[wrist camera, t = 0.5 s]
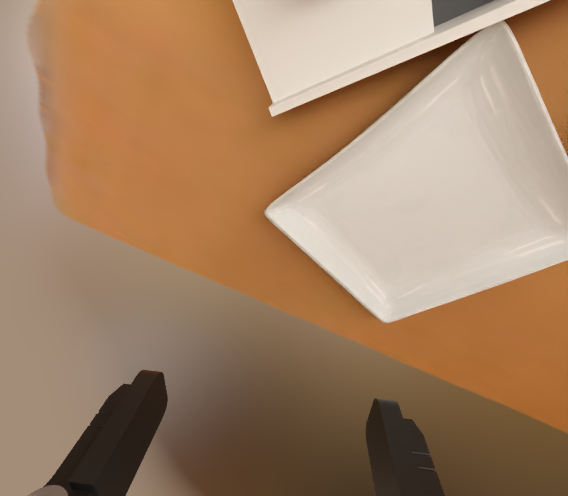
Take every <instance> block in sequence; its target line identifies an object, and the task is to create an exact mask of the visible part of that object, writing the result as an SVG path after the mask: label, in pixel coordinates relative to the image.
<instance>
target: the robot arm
mask: <svg viewBox="0 0 568 496" xmlns="http://www.w3.org/2000/svg"><path fill="white" fill-rule="evenodd" d="M167 401H168V397H167V391H166V386H165V380H164V375H163V373H162V372H156V371H148V370H142V371H140V372H139V374H138V375H137V376H136V378H135V379H134V381H133V382H132V384H131V385H129V384H123V385H122V386H120V387H119V388H118V389H117V390H116V391H115V392H113V393H112V394H111V395H110V396H109V397H108V399H107V400H106V401H105V403H104V404H103V406H102V407H101V408H100V410H99V413H98V414H96V416H95V417H94V419H93V420H92V422H91V423H90V426H88V427H87V429H86V430H85V431H84V433H83V434H82V436H81V437H80V439H79V440H78V441H77V443H76V444H75V446H74V447H73V449H72V450H71V452H70V453H69V454H68V456H67V457H66V459H65V460H64V461H63V463H62V464H61V466H60V467H59V469H58V470H57V471H56V473H55V474H54V476H53V477H52V478H51V479H50V480H49V482H48V483H47V484H46V485H45V486H44V487H42V488H40V489H38V490H36V491H34V492H33V493H31V494H30V495H28V496H126V493H127V491H128V489H129V487H130V485H131V483H132V481H133V479H134V477H135V474H136V472H137V470H138V468H139V466H140V464H141V462H142V460H143V458H144V455H145V454H146V452H147V449H148V447H149V445H150V443H151V441H152V439H153V437H154V435H155V433H156V431H157V428H158V426H159V424H160V422H161V420H162V418H163V416H164V413H165V410H166V407H167ZM366 442H367V448H368V454H369V460H370V465H371V471H372V477H373V483H374V489H375V494H376V496H445V495H444V492H443V490H442V487H441V484H440V481H439V478H438V475H437V473H436V472H435V467H434V465H433V461H432V459H431V457H430V455H429V454H430V453H429V450H428V447H427V444H426V441H425V438H424V435H423V434H422V433H421V431H420V430H419V428H418V427H417V426H416V424H415V423H414V421H413V420H411V419H403V417H402V414H401V411H400V407H399V405H398V403H397V402H396V401H393V400H386V399H377V398H376V399H374V401H373V405H372V407H371V410H370V413H369V417H368V420H367V423H366Z"/></svg>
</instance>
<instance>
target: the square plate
mask: <svg viewBox="0 0 568 496" xmlns="http://www.w3.org/2000/svg"><path fill="white" fill-rule="evenodd" d="M265 215H266V217H267V218H268V219H269V220H270V221H271V222H272V223H273V224H274V225H275V226H276V227H277V228H278V229H280V230H281V231H282V232H283V233H284V234H285V235H286V236H287V237H288V238H289V239H291V240H292V241H293V242H294V243H295V244H296V245H297V246H298V247H299V248H301V249H302V250H303V251H304V252H305V253H306V254H307V255H308V256H309V257H311V258H312V259H313V260H314V261H315V262H316V263H317V264H318V265H320V266H321V267H322V268H323V269H324V270H325V271H326V272H327V273H328V274H329V275H331V276H332V277H333V278H334V279H335V280H336V281H337V282H338V283H339V284H340V285H341V286H343V287H344V288H345V289H346V290H347V291H348V292H349V293H350V294H351V295H352V296H353V297H354V298H355V299H357V300H358V301H359V302H360V303H361V304H362V305H363V306H364V307H365V308H366V309H367V310H369V311H370V312H371V313H372V314H373V315H374V316H375V317H377V318H378V319H379V320H380V321H381V322H384V323H389V322H393V321H396V320H399V319H402V318H405V317H407V316H410V315H413V314H416V313H419V312H422V311H425V310H428V309H431V308H434V307H437V306H440V305H443V304H446V303H449V302H451V301H454V300H457V299H460V298H463V297H466V296H469V295H472V294H474V293H477V292H480V291H483V290H486V289H489V288H492V287H495V286H497V285H500V284H503V283H506V282H509V281H511V280H514V279H517V278H520V277H523V276H525V275H528V274H531V273H534V272H537V271H539V270H542V269H545V268H547V267H550V266H553V265H556V264H558V263H561V262H564V261H567V260H568V156H567V154H566V152H565V149H564V147H563V145H562V143H561V141H560V138H559V136H558V134H557V132H556V130H555V127H554V125H553V123H552V121H551V118H550V115H549V113H548V111H547V109H546V106H545V104H544V102H543V100H542V98H541V94H540V92H539V90H538V87H537V85H536V83H535V81H534V78H533V76H532V74H531V72H530V69H529V67H528V65H527V63H526V60H525V58H524V56H523V53H522V51H521V49H520V46H519V44H518V42H517V40H516V38H515V36H514V34H513V32H512V31H511V29H510V27H509V25H508V24H506V22H505V21H504V20H502V21H500V22H497V23H495V24H492V25H490V26H488V27H485V28H483V29H481V30H480V31H479V32H477V33H476V34H475V35H474V36H472V37H471V38H470V39H469V40H468V41H466V42H465V43H464V44H463V45H462V46H460V47H459V48H458V49H457V50H456V51H455V52H453V53H452V54H451V55H450V56H449V57H448V58H447V59H445V60H444V61H443V62H442V63H441V64H440V65H439V66H438V67H436V68H435V69H434V70H433V71H432V72H431V73H430V74H429V75H428V76H426V77H425V78H424V79H423V80H422V81H421V82H420V83H419V84H417V85H416V86H415V87H414V88H413V89H412V90H411V91H410V92H409V93H407V94H406V95H405V96H404V97H403V98H402V99H401V100H400V101H398V102H397V103H396V104H395V105H394V106H393V107H392V108H391V109H389V110H388V111H387V112H386V113H385V114H384V115H382V116H381V117H380V118H379V119H378V120H377V121H375V122H374V123H373V124H372V125H371V126H370V127H369V128H367V129H366V130H365V131H364V132H363V133H362V134H360V135H359V136H358V137H357V138H356V139H354V140H353V141H352V142H351V143H350V144H348V145H347V146H346V147H345V148H343V149H342V150H341V151H340V152H338V153H337V154H336V155H335V156H333V157H332V158H331V159H330V160H328V161H327V162H326V163H324V164H323V165H322V166H320V167H319V168H318V169H316V170H315V171H314V172H312V173H311V174H310V175H308V176H307V177H306V178H304V179H303V180H301V181H300V182H299V183H297V184H296V185H295V186H293V187H292V188H290V189H289V190H288V191H286V192H285V193H284V194H282V195H281V196H280V197H278V198H277V199H276V200H275V201H273V202H272V203H271V204H270V205H269V206H268V207H267V208H266V210H265Z"/></svg>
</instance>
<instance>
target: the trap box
mask: <svg viewBox="0 0 568 496" xmlns="http://www.w3.org/2000/svg"><path fill="white" fill-rule="evenodd" d="M547 1H550V0H233V3H234V6H235V8H236V11H237V13H238V16H239V18H240V21H241V23H242V26H243V28H244V31H245V33H246V36H247V38H248V41H249V43H250V46H251V48H252V51H253V54H254V56H255V59H256V61H257V64H258V66H259V69H260V71H261V74H262V76H263V79H264V81H265V84H266V86H267V89H268V91H269V94H270V96H271V99H272V102H273V103H272V105H271V106H270V107H269V111H270V113H271V116H272V117H273V116H275V115H278V114H280V113H282V112H285V111H287V110H290V109H292V108H294V107H297V106H299V105H302V104H304V103H306V102H309V101H311V100H313V99H316V98H318V97H321V96H323V95H325V94H328V93H330V92H333V91H335V90H337V89H340V88H342V87H345V86H347V85H349V84H352V83H354V82H356V81H359V80H361V79H364V78H366V77H368V76H371V75H373V74H376V73H378V72H380V71H383V70H385V69H387V68H390V67H392V66H395V65H397V64H399V63H402V62H404V61H407V60H409V59H411V58H414V57H416V56H418V55H421V54H423V53H426V52H428V51H430V50H433V49H435V48H438V47H440V46H442V45H445V44H447V43H450V42H452V41H454V40H457V39H459V38H461V37H464V36H466V35H469V34H471V33H473V32H476V31H478V30H481V29H483V28H485V27H488V26H490V25H492V24H495V23H497V22H500V21H502V20H504V19H507V18H509V17H512V16H514V15H516V14H519V13H521V12H524V11H526V10H528V9H531V8H533V7H535V6H538V5H540V4H543V3H545V2H547Z"/></svg>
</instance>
